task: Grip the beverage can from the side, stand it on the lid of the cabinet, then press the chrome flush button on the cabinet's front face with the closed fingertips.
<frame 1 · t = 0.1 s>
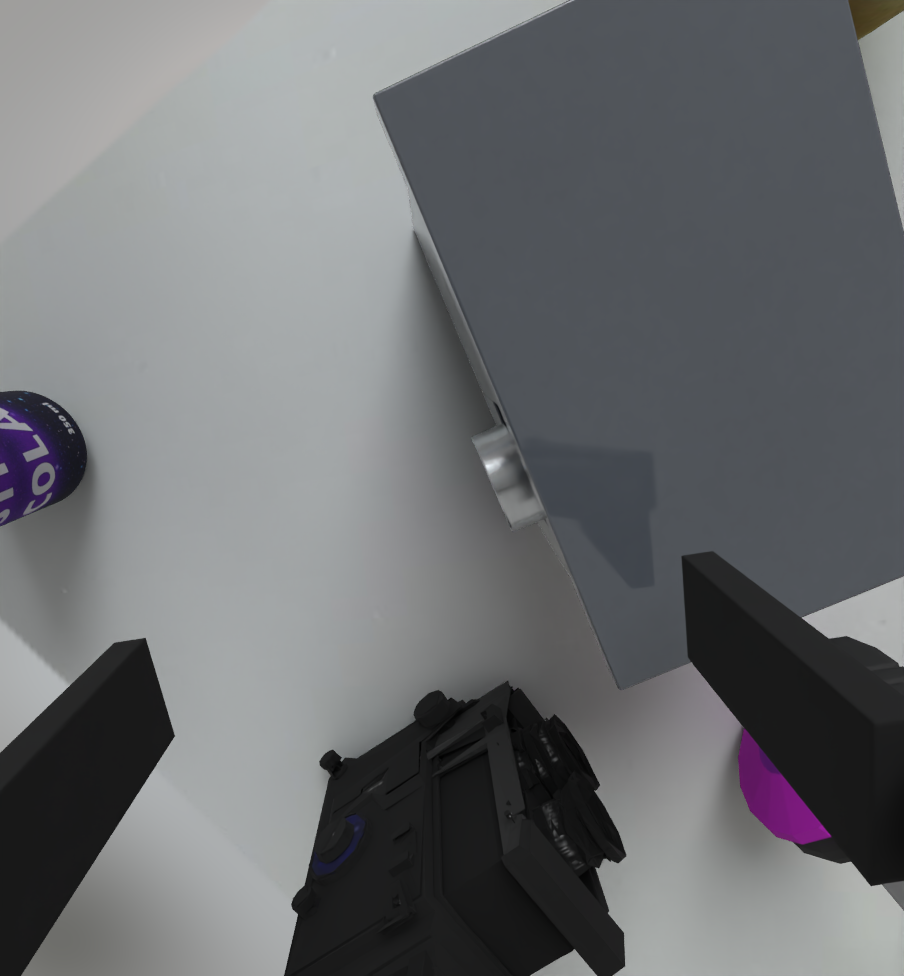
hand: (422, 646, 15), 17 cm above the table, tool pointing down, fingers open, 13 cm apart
headphones: (881, 759, 37), on the table
beverage can: (40, 446, 31), on the table
cabinet: (571, 343, 30), on the table
camera: (457, 751, 36), on the table
flush button: (508, 477, 24), point 8 cm above the table, slide at 0.1 cm
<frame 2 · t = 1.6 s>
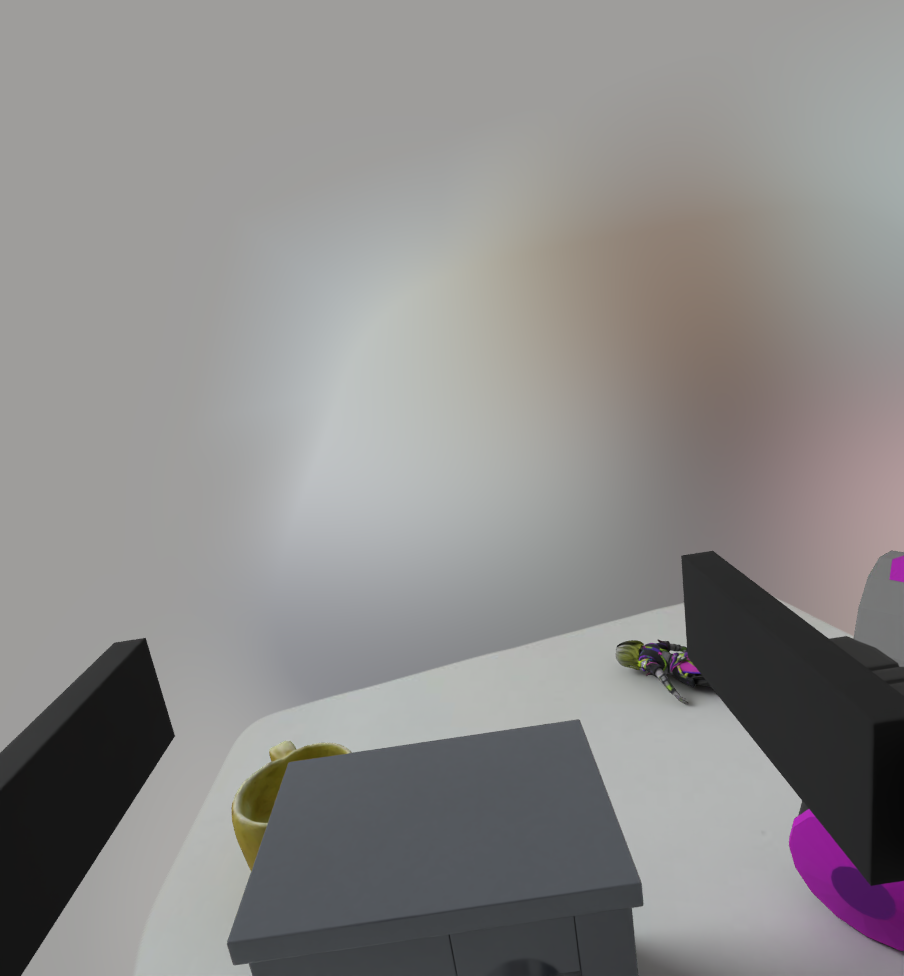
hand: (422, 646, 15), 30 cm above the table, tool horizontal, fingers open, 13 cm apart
mug: (316, 857, 48), on the table
character figure: (696, 682, 62), on the table
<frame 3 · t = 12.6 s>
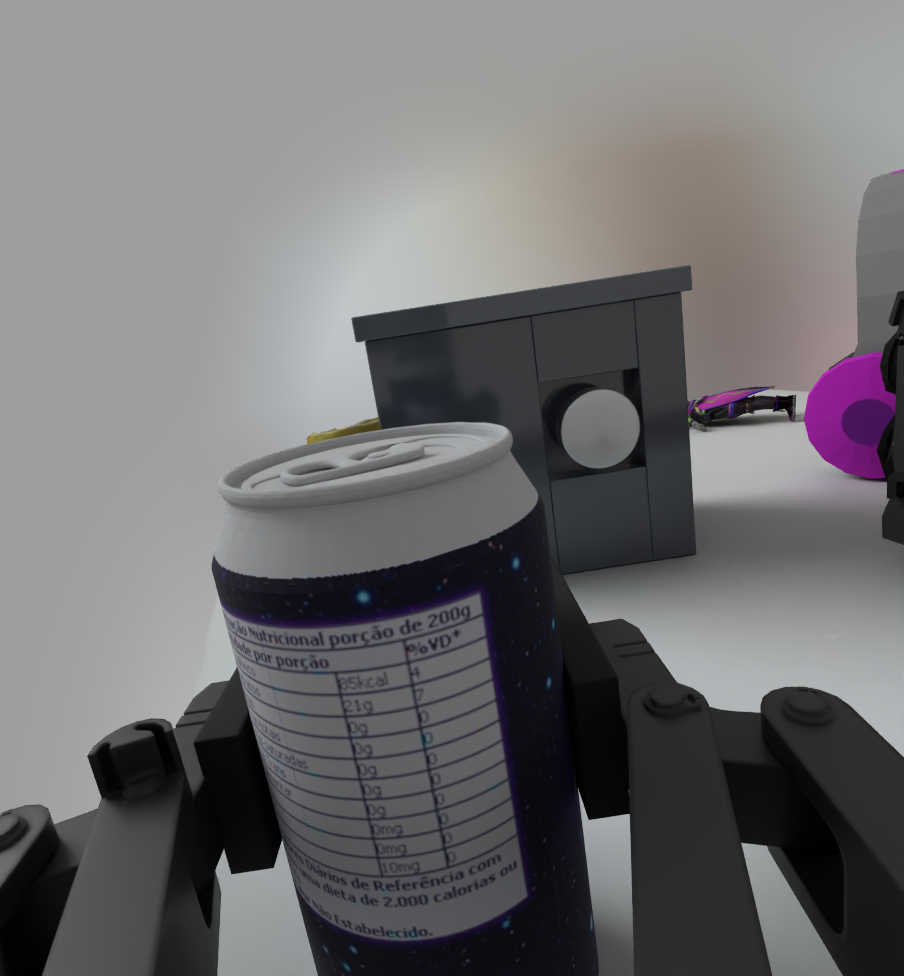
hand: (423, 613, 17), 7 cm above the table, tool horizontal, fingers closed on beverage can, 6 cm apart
cabinet: (538, 546, 39), on the table
flush button: (597, 427, 31), point 8 cm above the table, slide at 0.1 cm
mug: (376, 513, 53), on the table
character figure: (712, 425, 67), on the table
when the fingers open (22 cm above the table, at t = 21.7 s): beverage can stays where it is, resting on cabinet.
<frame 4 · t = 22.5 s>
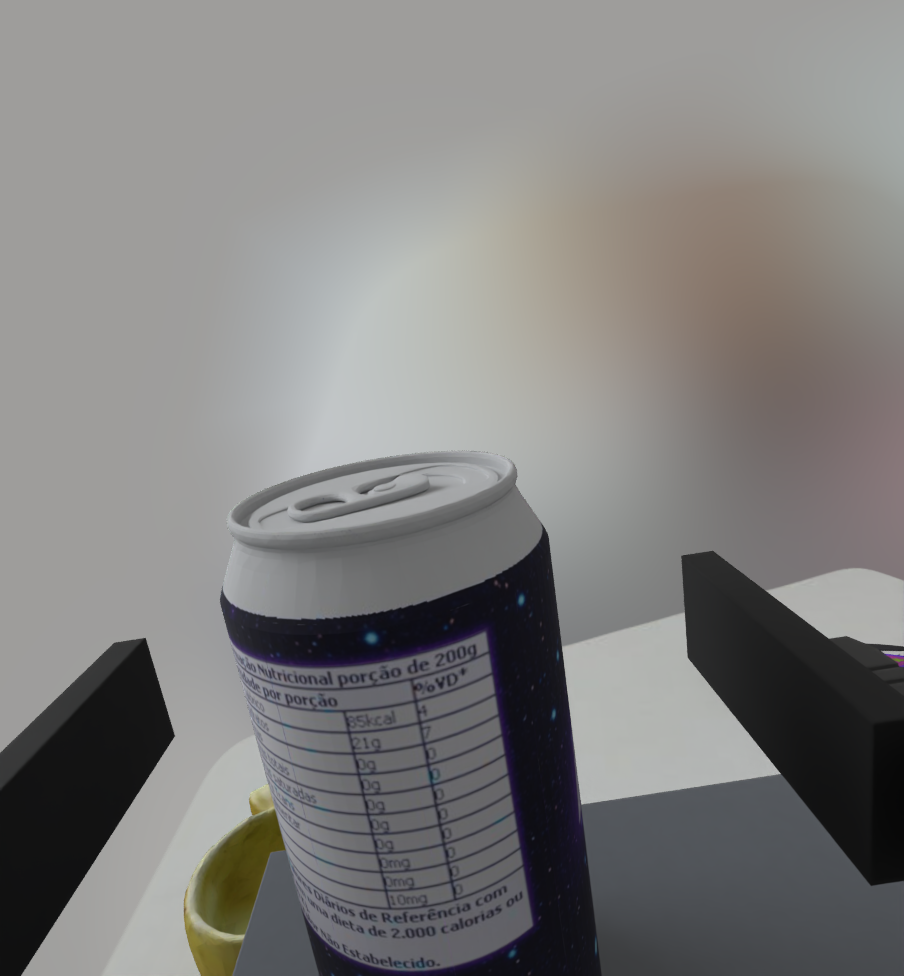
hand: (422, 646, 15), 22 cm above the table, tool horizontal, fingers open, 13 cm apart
mug: (319, 962, 31), on the table
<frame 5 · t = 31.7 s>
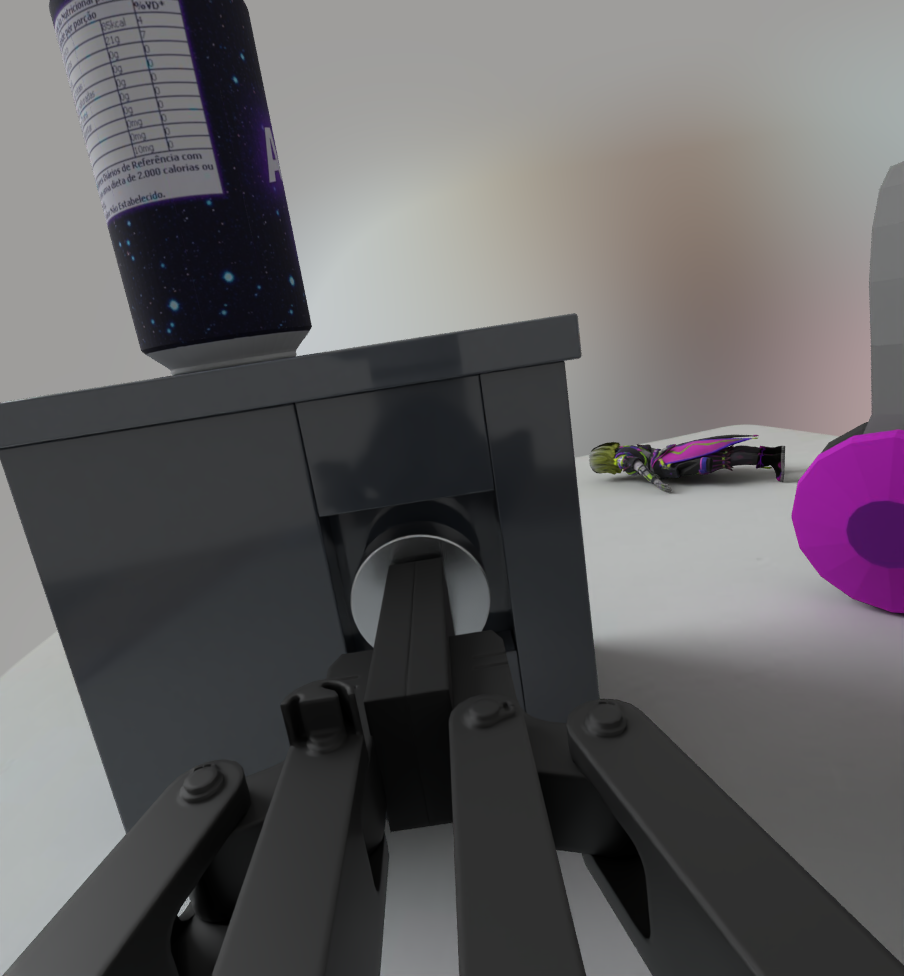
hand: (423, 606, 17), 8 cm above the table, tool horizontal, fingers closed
beverage can: (237, 371, 22), point 15 cm above the table, touching cabinet
cabinet: (382, 728, 25), on the table
flush button: (421, 592, 18), point 8 cm above the table, slide at -0.2 cm, touching gripper
character figure: (681, 480, 54), on the table
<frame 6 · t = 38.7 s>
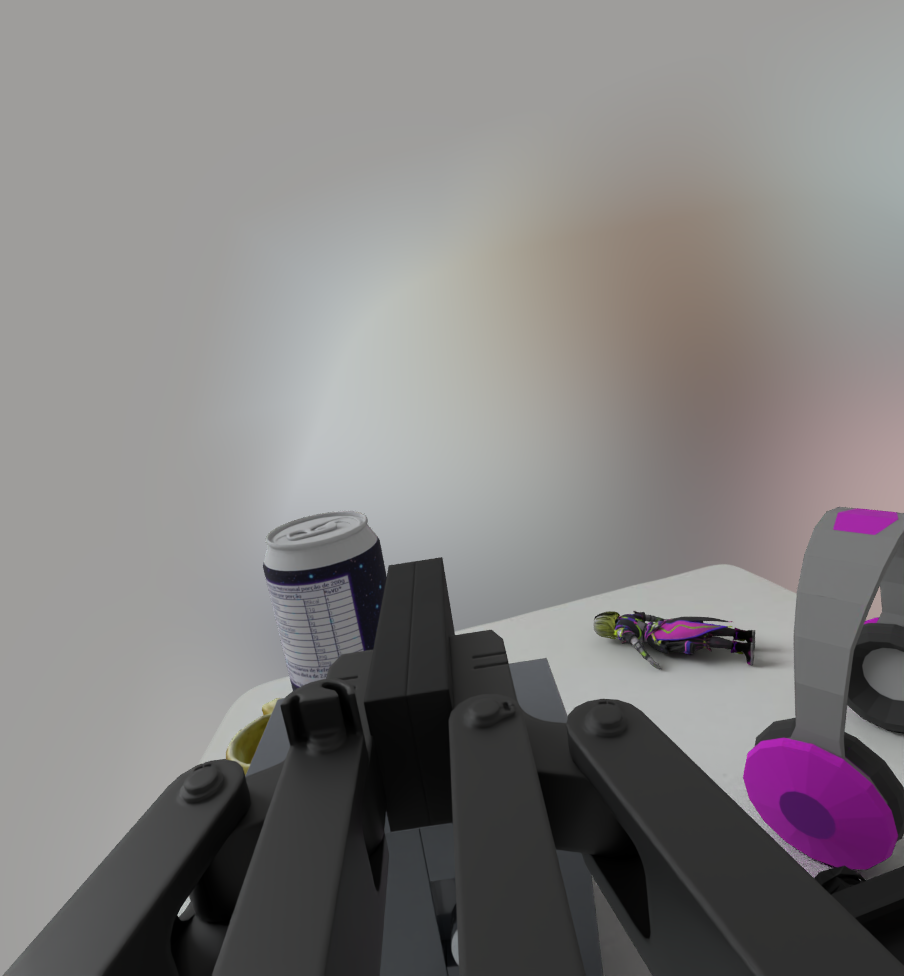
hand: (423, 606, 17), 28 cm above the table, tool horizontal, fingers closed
headphones: (860, 780, 44), on the table
beverage can: (363, 743, 33), point 15 cm above the table, touching cabinet
cabinet: (451, 954, 36), on the table
flush button: (493, 931, 29), point 8 cm above the table, slide at 0.1 cm
mug: (306, 805, 50), on the table
character figure: (670, 649, 65), on the table
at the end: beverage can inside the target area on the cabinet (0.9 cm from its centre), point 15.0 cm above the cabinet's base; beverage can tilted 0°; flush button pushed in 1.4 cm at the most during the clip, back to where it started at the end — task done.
